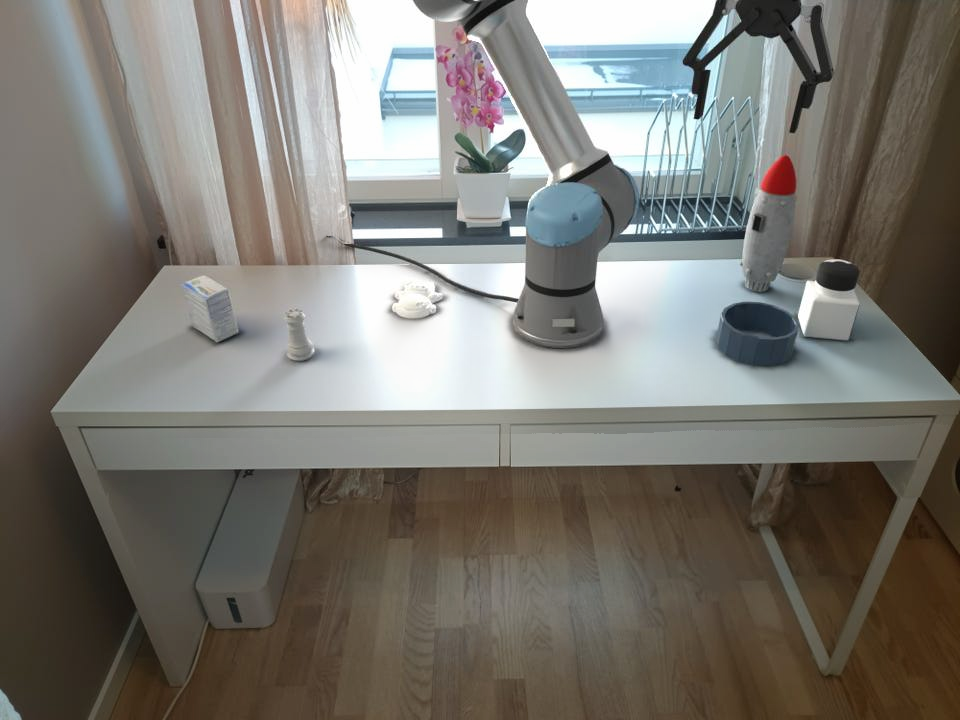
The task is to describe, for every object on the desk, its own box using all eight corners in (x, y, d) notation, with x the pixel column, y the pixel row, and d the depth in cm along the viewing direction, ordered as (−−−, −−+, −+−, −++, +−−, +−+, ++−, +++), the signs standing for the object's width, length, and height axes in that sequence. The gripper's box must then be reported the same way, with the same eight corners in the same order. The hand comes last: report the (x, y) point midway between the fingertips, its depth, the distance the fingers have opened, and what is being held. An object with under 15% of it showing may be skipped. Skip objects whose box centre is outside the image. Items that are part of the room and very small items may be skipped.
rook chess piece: (291, 365, 118) (283, 322, 113) (283, 351, 121) (275, 309, 117) (318, 357, 120) (311, 314, 115) (310, 344, 123) (303, 302, 118)
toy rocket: (724, 285, 139) (750, 154, 125) (752, 273, 143) (780, 144, 129) (759, 301, 134) (790, 166, 120) (786, 288, 138) (819, 156, 124)
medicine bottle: (849, 341, 122) (869, 276, 115) (803, 337, 123) (821, 272, 117) (840, 319, 128) (859, 256, 121) (796, 316, 129) (813, 253, 123)
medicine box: (239, 333, 126) (229, 288, 121) (216, 344, 123) (204, 298, 119) (215, 317, 131) (204, 273, 126) (192, 327, 128) (180, 282, 123)
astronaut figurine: (448, 290, 139) (447, 275, 138) (431, 322, 129) (430, 307, 128) (403, 285, 141) (402, 271, 139) (383, 317, 131) (382, 302, 129)
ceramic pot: (708, 354, 119) (713, 327, 117) (725, 321, 128) (731, 295, 125) (784, 373, 115) (791, 346, 112) (797, 338, 123) (804, 311, 120)
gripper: (676, -44, 99) (654, 118, 110) (880, -32, 89) (832, 144, 101) (690, -49, 104) (668, 105, 116) (885, -38, 94) (838, 129, 106)
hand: (744, 123), depth 108 cm, fingers open, 13 cm apart
